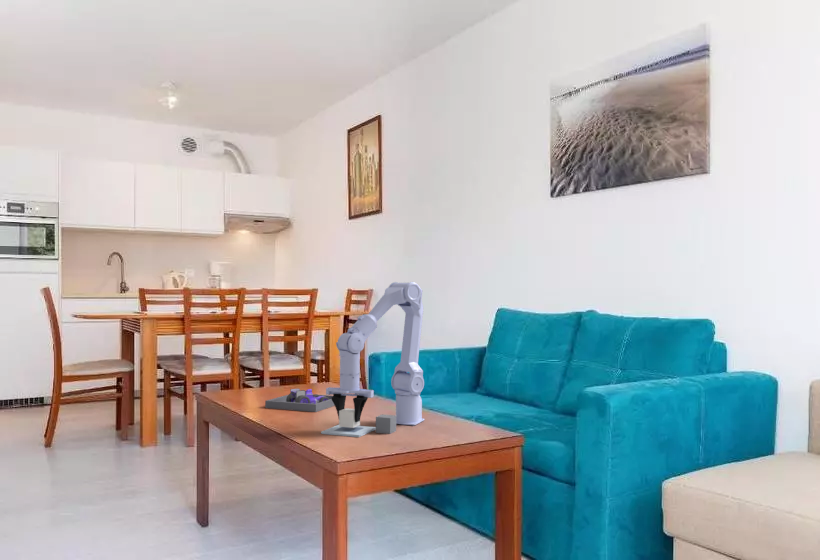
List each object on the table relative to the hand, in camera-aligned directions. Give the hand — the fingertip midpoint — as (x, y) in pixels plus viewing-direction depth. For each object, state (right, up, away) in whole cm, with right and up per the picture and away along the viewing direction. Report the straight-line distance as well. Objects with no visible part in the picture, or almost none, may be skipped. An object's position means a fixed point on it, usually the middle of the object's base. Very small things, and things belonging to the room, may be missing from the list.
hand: (349, 420), depth 192 cm
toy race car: (-18, -5, +44) cm, 47 cm away
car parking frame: (-20, -4, +44) cm, 48 cm away
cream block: (0, -2, 0) cm, 2 cm away
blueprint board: (0, -3, 0) cm, 3 cm away
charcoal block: (+11, -3, 0) cm, 11 cm away
